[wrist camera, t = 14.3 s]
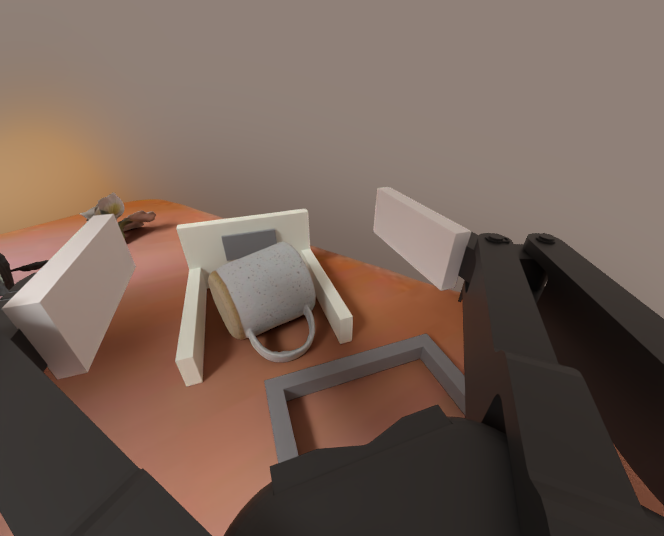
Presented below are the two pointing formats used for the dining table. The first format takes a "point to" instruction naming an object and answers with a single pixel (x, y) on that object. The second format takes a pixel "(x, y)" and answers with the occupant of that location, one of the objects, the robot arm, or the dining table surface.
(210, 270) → the mug dock
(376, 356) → the gray rectangular frame
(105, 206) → the artificial flower
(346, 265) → the dining table surface
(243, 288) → the ceramic mug
